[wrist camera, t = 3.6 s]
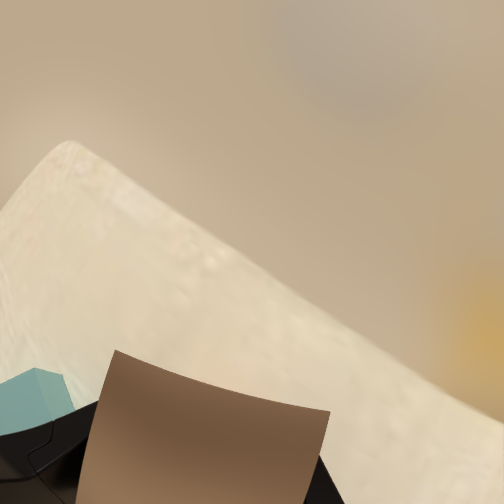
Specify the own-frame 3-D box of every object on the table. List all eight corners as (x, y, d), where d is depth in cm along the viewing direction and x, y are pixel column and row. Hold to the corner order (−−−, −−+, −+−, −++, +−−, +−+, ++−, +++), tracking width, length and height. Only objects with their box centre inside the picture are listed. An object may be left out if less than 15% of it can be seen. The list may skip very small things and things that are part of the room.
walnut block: (254, 480, 12) (269, 578, 3) (166, 455, 12) (74, 513, 3) (277, 402, 14) (330, 411, 5) (189, 378, 14) (115, 349, 6)
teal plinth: (36, 543, 6) (16, 551, 3) (-26, 412, 11) (-51, 407, 8) (150, 537, 9) (135, 556, 6) (61, 374, 14) (34, 367, 11)
